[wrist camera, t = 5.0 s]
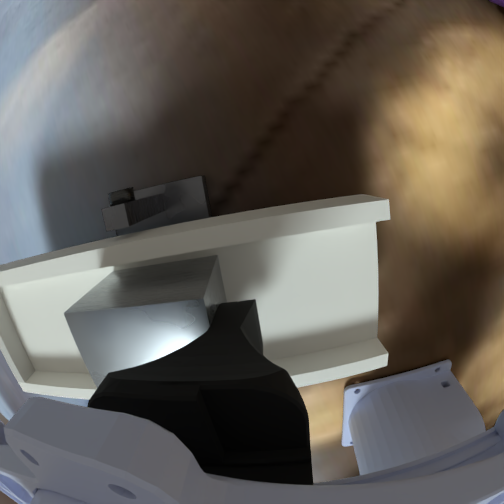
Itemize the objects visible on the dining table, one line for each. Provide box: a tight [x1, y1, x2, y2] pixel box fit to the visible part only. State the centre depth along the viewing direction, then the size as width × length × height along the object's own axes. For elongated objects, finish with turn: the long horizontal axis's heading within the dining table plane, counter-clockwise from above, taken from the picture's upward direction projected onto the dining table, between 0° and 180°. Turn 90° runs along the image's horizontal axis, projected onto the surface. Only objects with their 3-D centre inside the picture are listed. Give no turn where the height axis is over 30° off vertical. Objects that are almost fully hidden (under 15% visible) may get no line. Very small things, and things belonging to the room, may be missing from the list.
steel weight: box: [64, 255, 227, 388], centre depth 11 cm, size 5×5×4 cm
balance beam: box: [0, 194, 390, 399], centre depth 13 cm, size 22×8×3 cm, turn 99°
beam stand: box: [102, 176, 212, 236], centre depth 15 cm, size 6×12×6 cm, turn 9°
